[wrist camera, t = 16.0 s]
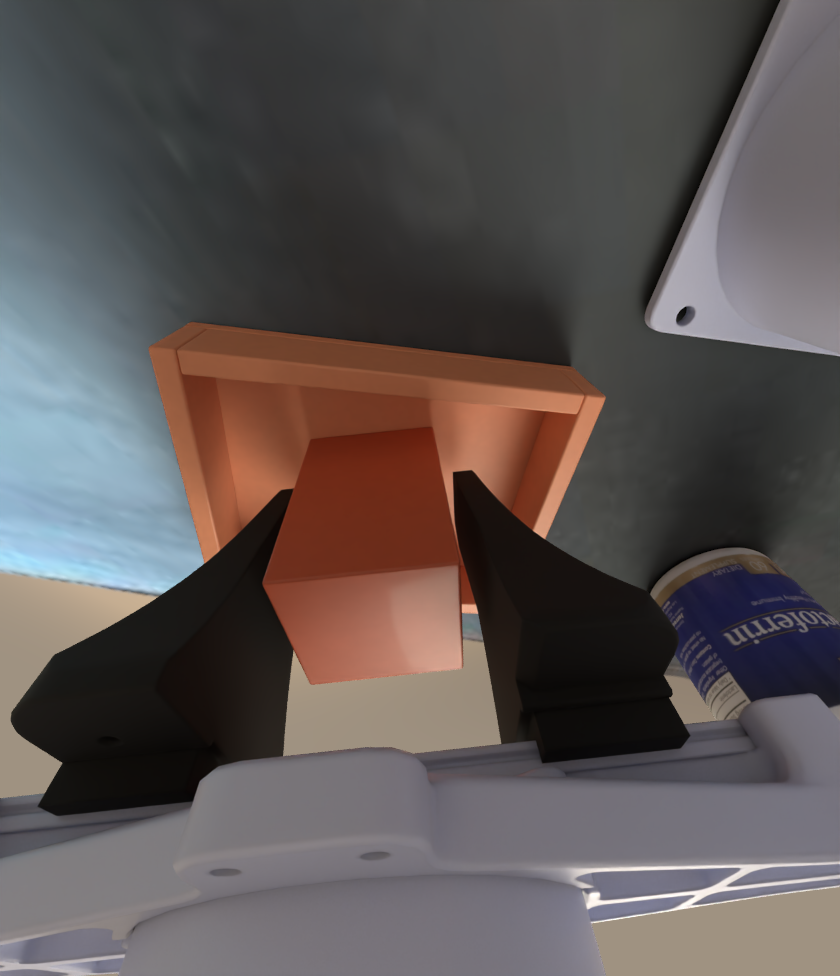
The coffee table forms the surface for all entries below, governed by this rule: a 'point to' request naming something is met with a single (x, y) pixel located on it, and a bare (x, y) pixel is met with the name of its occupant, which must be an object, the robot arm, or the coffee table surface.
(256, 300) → the coffee table surface
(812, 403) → the coffee table surface
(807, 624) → the pill bottle
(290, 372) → the terracotta tray
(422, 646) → the terracotta block
